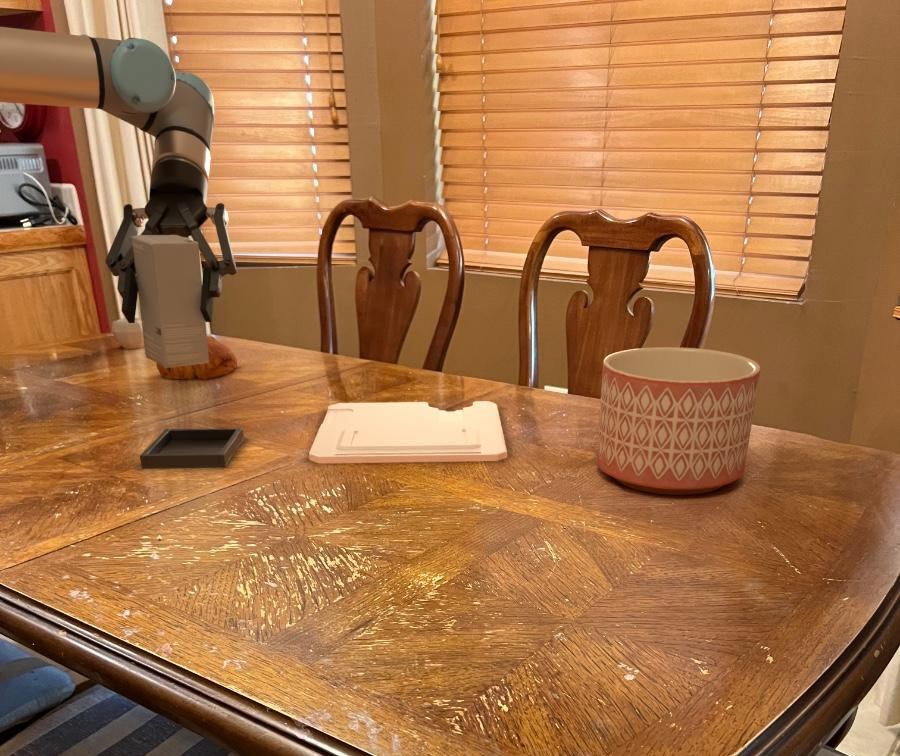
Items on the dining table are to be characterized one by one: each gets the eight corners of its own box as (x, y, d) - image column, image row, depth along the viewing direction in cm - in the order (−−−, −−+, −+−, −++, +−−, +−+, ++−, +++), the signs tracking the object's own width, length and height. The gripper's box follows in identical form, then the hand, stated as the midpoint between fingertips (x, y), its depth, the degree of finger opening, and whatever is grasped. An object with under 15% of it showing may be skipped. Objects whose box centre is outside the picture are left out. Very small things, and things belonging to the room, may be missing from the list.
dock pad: (142, 470, 119) (139, 455, 118) (167, 442, 130) (165, 428, 129) (225, 469, 119) (223, 454, 118) (244, 441, 130) (242, 427, 129)
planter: (660, 511, 103) (674, 389, 97) (567, 466, 118) (573, 357, 111) (774, 483, 112) (794, 368, 105) (673, 444, 126) (685, 341, 120)
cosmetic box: (145, 358, 120) (123, 235, 112) (194, 351, 123) (176, 232, 116) (165, 370, 113) (143, 240, 106) (216, 362, 117) (199, 236, 109)
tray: (330, 410, 145) (330, 401, 144) (496, 407, 145) (496, 398, 144) (308, 465, 120) (307, 454, 119) (508, 462, 120) (508, 451, 120)
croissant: (148, 387, 168) (135, 347, 164) (204, 360, 179) (194, 322, 175) (200, 395, 161) (188, 353, 157) (256, 366, 172) (246, 326, 168)
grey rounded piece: (137, 343, 196) (132, 313, 193) (159, 347, 192) (154, 316, 189) (107, 349, 191) (101, 318, 188) (129, 353, 187) (123, 322, 184)
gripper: (265, 196, 123) (257, 332, 116) (110, 198, 123) (93, 334, 116) (254, 155, 115) (244, 297, 109) (89, 157, 115) (70, 299, 109)
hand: (166, 316), depth 112 cm, fingers closed on cosmetic box, 9 cm apart
